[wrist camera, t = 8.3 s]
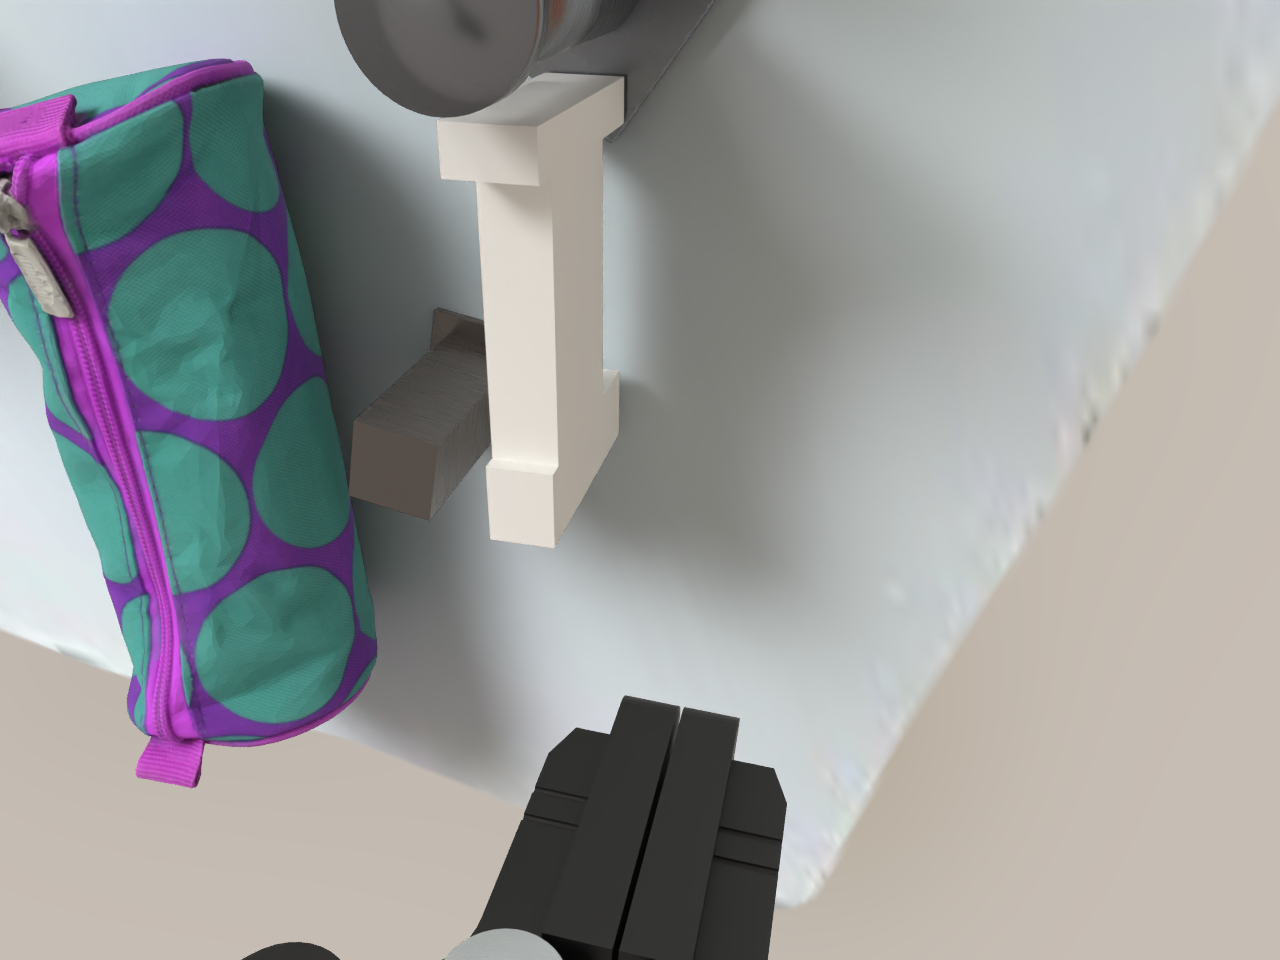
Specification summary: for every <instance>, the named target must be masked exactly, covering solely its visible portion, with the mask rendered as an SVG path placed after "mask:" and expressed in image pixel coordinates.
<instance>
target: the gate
mask: <svg viewBox="0 0 1280 960" xmlns="http://www.w3.org/2000/svg"><path fill="white" fill-rule="evenodd" d="M436 122H437V135H438V149H439V162H440V175H441V179H447V180H461V181H475V182H476V193H477V209H478V226H479V243H480V260H481V276H482V293H483V310H484V327H485V343H486V360H487V377H488V394H489V410H490V427H491V444H492V459H491V461H490V462H489V463H488V464H487V466H486V481H487V497H488V512H489V528H490V539H491V540H498V541H506V542H513V543H520V544H527V545H534V546H541V547H548V548H555V547H556V545H557V543H558V542H559V540H560V538H561V536H562V535H563V533H564V531H565V529H566V527H567V526H568V524H569V522H570V520H571V519H572V517H573V515H574V513H575V511H576V510H577V508H578V506H579V504H580V503H581V501H582V499H583V497H584V495H585V494H586V492H587V490H588V488H589V487H590V485H591V483H592V481H593V479H594V478H595V476H596V474H597V472H598V471H599V469H600V467H601V465H602V463H603V462H604V460H605V458H606V456H607V454H608V453H609V451H610V449H611V447H612V446H613V444H614V442H615V440H616V438H617V437H618V435H619V371H615V370H606V369H603V138H605V137H606V136H608V135H609V134H610V133H612V132H613V131H614V130H616V129H617V128H618V127H620V126H621V125H622V124H624V77H622V76H602V75H582V74H563V73H543V74H541V75H539V76H536V77H534V78H532V79H530V80H527V81H525V82H523V83H522V84H521V85H520V86H519V87H518V88H517V90H515V91H514V92H513V93H511V94H510V95H509V96H508V97H506V98H504V99H503V100H501V101H499V102H497V103H495V104H493V105H491V106H489V107H487V108H484V109H482V110H480V111H477V112H475V113H472V114H469V115H464V116H459V117H447V118H441V119H439V120H437V121H436Z"/></svg>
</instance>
